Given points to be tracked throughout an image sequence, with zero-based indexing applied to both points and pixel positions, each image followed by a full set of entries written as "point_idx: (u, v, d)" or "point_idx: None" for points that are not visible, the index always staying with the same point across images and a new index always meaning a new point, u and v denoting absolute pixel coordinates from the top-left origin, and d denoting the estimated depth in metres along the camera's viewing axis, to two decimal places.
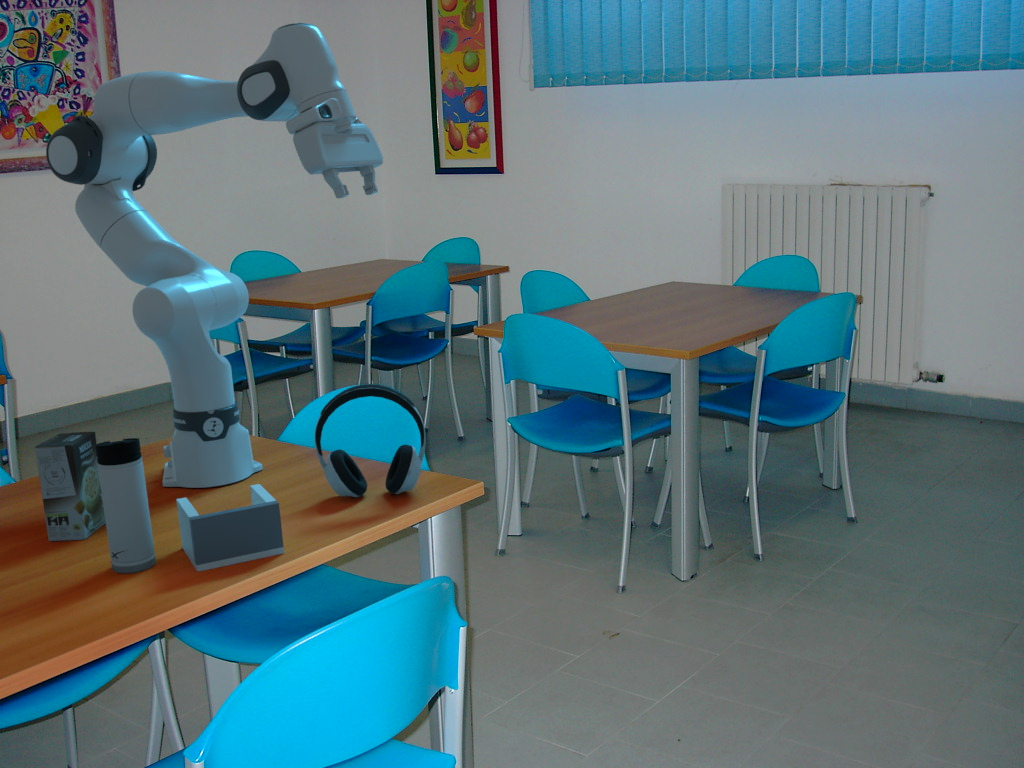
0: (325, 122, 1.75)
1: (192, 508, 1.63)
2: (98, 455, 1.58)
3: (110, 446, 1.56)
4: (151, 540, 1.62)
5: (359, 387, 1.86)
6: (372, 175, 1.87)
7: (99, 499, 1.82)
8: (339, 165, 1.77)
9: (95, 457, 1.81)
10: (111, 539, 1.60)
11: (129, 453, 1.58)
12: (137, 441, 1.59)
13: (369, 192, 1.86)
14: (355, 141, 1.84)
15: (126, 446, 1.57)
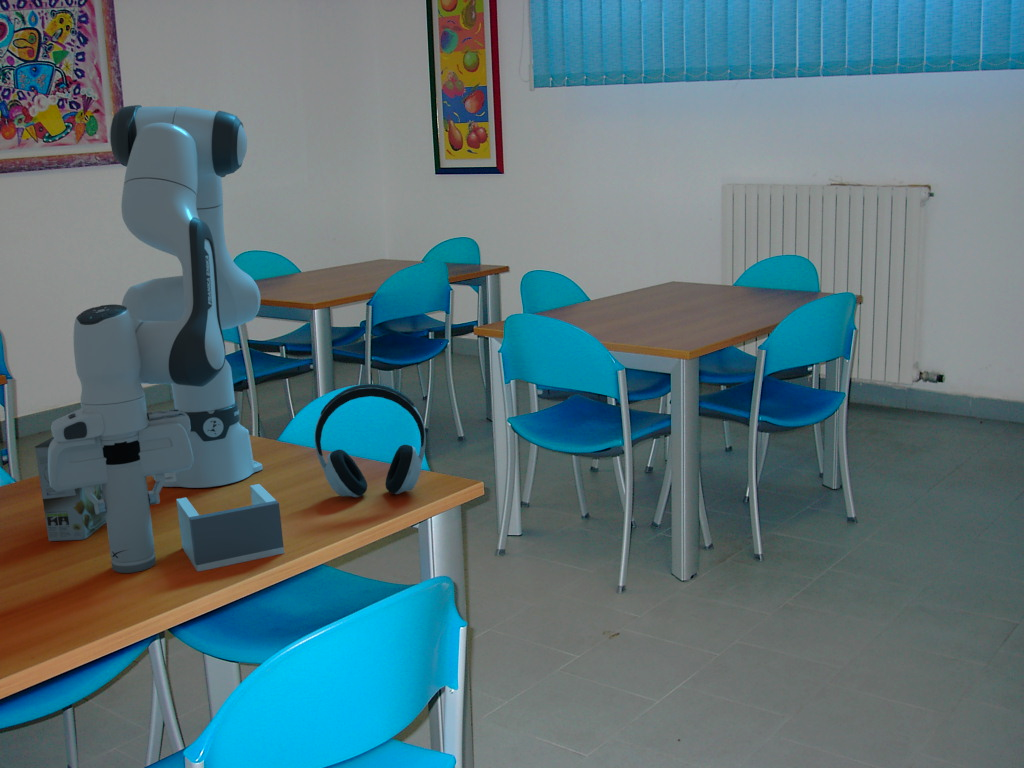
0: (75, 441, 1.54)
1: (192, 508, 1.63)
2: None
3: (112, 445, 1.56)
4: (151, 540, 1.62)
5: (359, 387, 1.86)
6: (158, 484, 1.62)
7: (99, 499, 1.82)
8: (88, 485, 1.57)
9: None
10: (111, 539, 1.60)
11: (131, 453, 1.58)
12: None
13: (149, 502, 1.63)
14: (142, 448, 1.59)
15: (128, 446, 1.57)
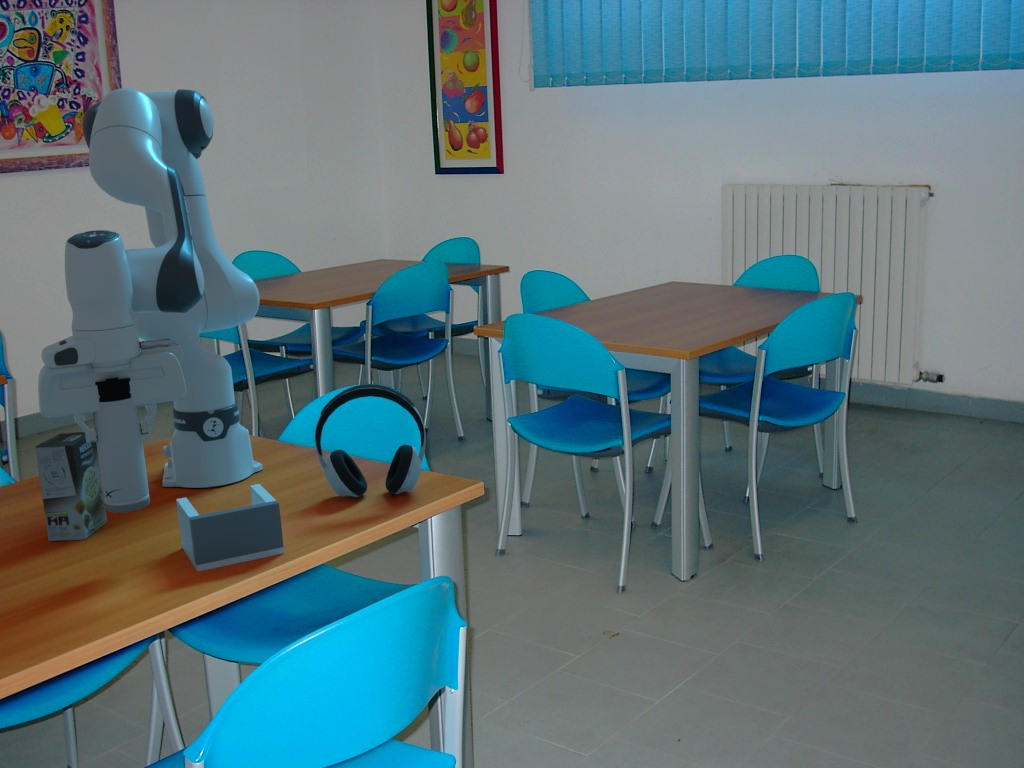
0: (66, 367, 1.52)
1: (192, 508, 1.63)
2: None
3: (104, 382, 1.55)
4: (145, 480, 1.61)
5: (359, 387, 1.86)
6: (150, 414, 1.60)
7: (99, 499, 1.82)
8: (79, 413, 1.55)
9: (95, 457, 1.81)
10: (104, 478, 1.58)
11: (123, 390, 1.56)
12: None
13: (141, 432, 1.61)
14: (134, 377, 1.57)
15: (120, 383, 1.56)
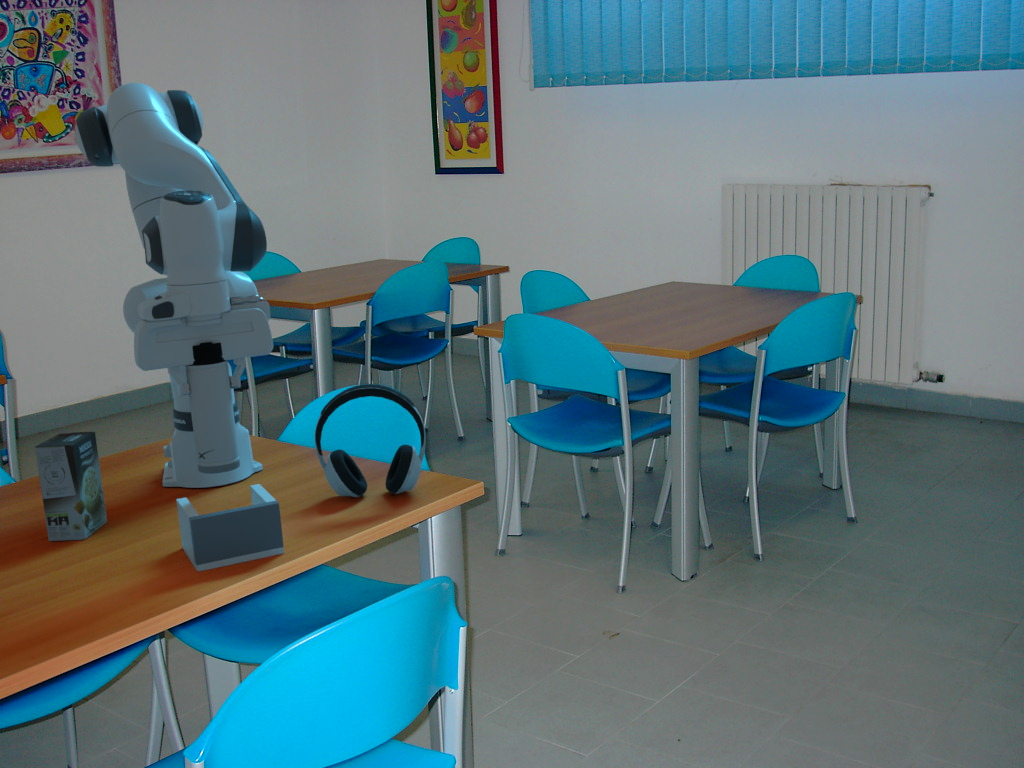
0: (162, 321, 1.58)
1: (192, 508, 1.63)
2: None
3: (198, 346, 1.61)
4: (236, 442, 1.67)
5: (359, 387, 1.86)
6: (239, 368, 1.66)
7: (99, 499, 1.82)
8: (174, 366, 1.61)
9: (95, 457, 1.81)
10: (198, 440, 1.64)
11: (216, 354, 1.62)
12: None
13: None
14: (225, 332, 1.63)
15: (213, 347, 1.62)
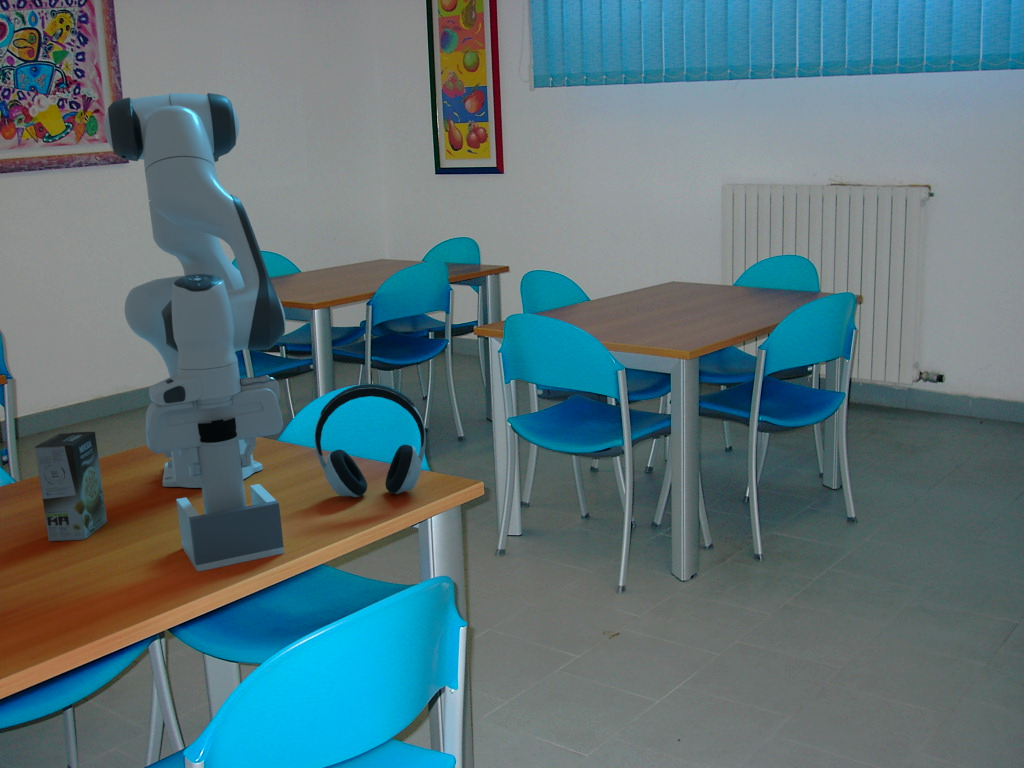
0: (174, 405, 1.60)
1: (192, 508, 1.63)
2: None
3: (210, 424, 1.62)
4: None
5: (359, 387, 1.86)
6: (249, 448, 1.68)
7: (99, 499, 1.82)
8: (185, 448, 1.62)
9: (95, 457, 1.81)
10: (208, 513, 1.66)
11: (227, 431, 1.63)
12: (234, 419, 1.65)
13: None
14: (236, 413, 1.65)
15: (225, 424, 1.63)
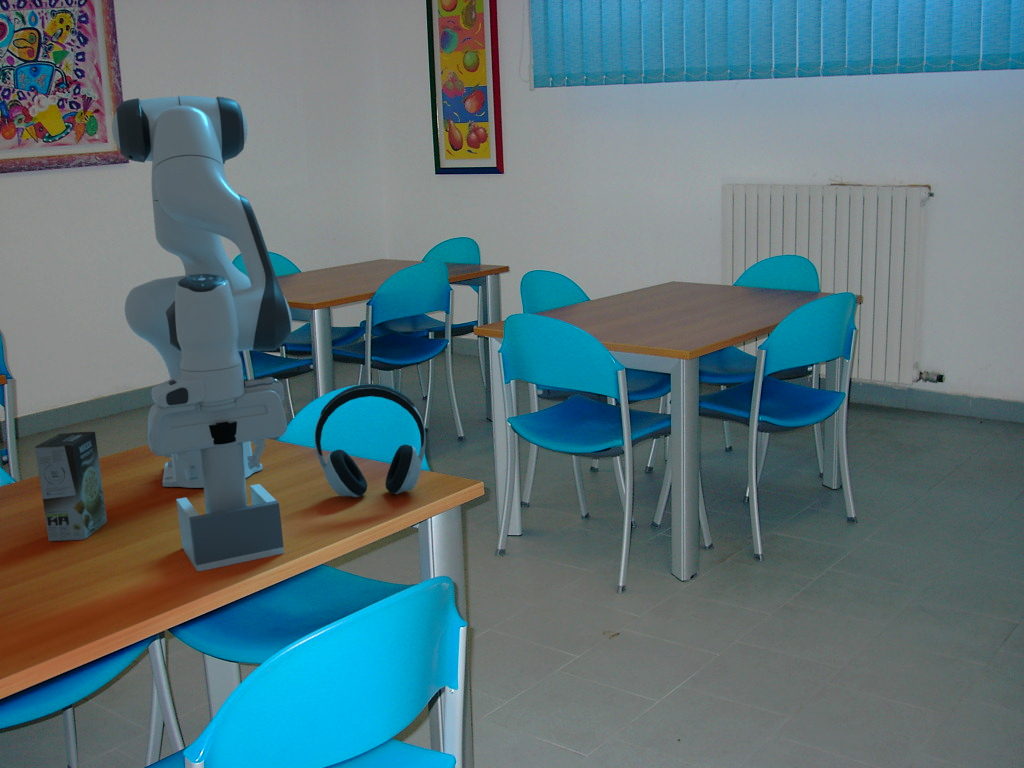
0: (177, 407, 1.57)
1: (192, 508, 1.63)
2: None
3: (215, 426, 1.61)
4: None
5: (359, 387, 1.86)
6: (258, 449, 1.66)
7: (99, 499, 1.82)
8: (188, 450, 1.60)
9: (95, 457, 1.81)
10: None
11: (232, 433, 1.62)
12: None
13: (249, 466, 1.66)
14: (239, 415, 1.63)
15: (229, 427, 1.62)
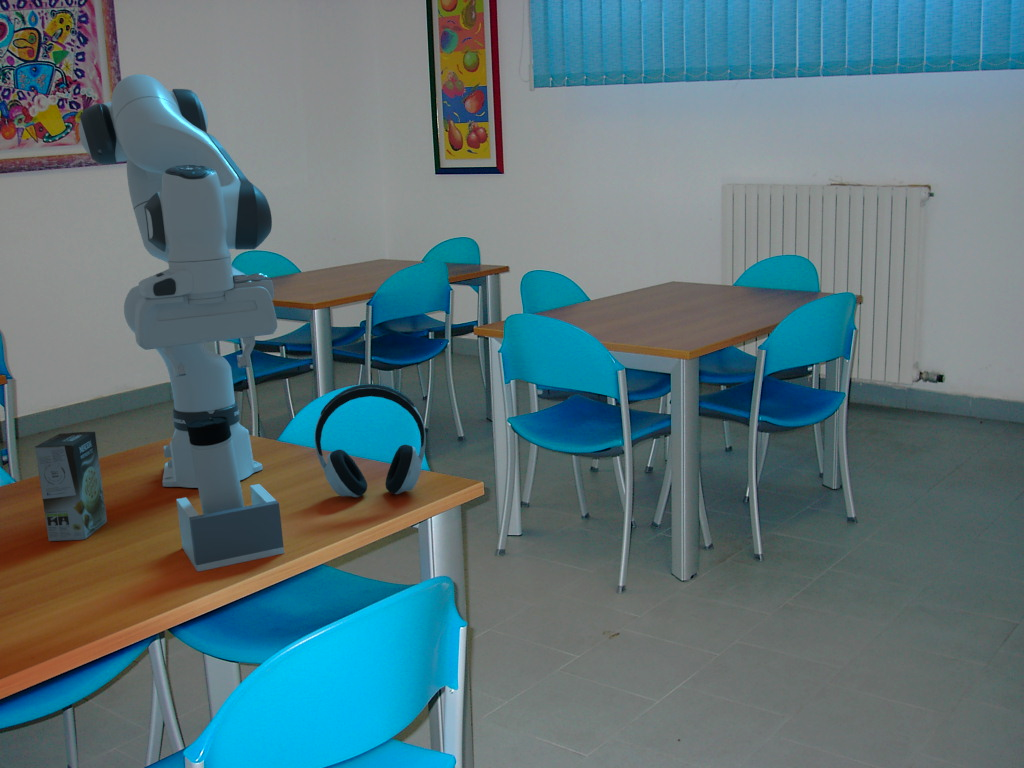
0: (164, 298, 1.54)
1: (192, 508, 1.63)
2: (191, 436, 1.62)
3: (203, 428, 1.60)
4: None
5: (359, 387, 1.86)
6: (248, 347, 1.62)
7: (99, 499, 1.82)
8: (175, 345, 1.57)
9: (95, 457, 1.81)
10: None
11: (221, 433, 1.62)
12: (227, 420, 1.63)
13: (239, 365, 1.63)
14: (228, 310, 1.59)
15: (218, 427, 1.61)
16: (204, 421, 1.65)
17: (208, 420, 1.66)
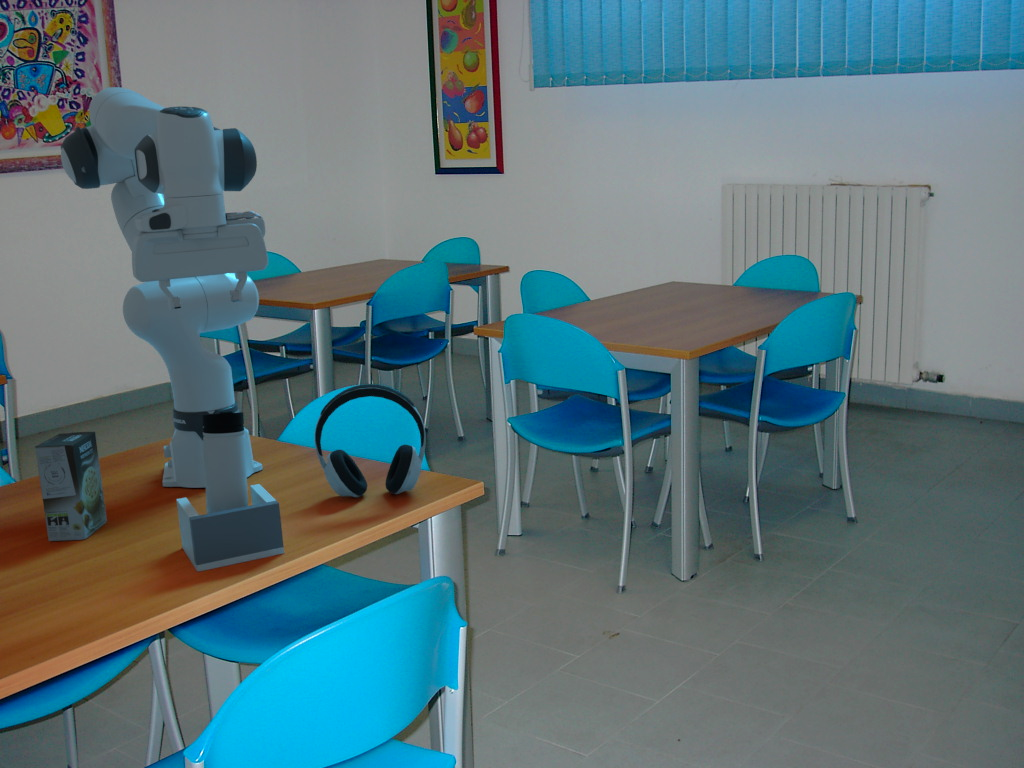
0: (160, 232, 1.61)
1: (192, 508, 1.63)
2: (205, 424, 1.66)
3: (218, 415, 1.65)
4: None
5: (359, 387, 1.86)
6: (240, 282, 1.70)
7: (99, 499, 1.82)
8: (171, 278, 1.64)
9: (95, 457, 1.81)
10: (210, 507, 1.67)
11: (235, 423, 1.66)
12: (242, 413, 1.68)
13: (232, 300, 1.70)
14: (221, 246, 1.67)
15: (233, 416, 1.66)
16: None
17: None
